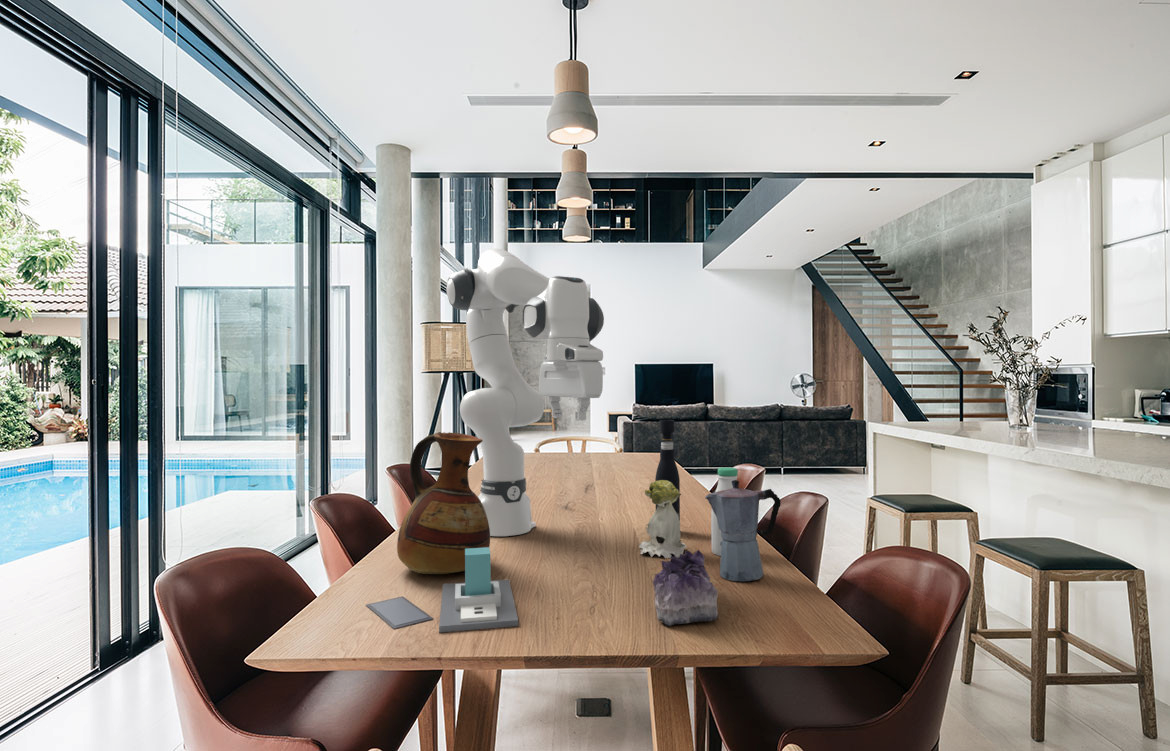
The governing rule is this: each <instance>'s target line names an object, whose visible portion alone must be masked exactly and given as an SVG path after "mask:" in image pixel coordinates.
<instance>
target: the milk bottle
mask: <svg viewBox="0 0 1170 751" xmlns="http://www.w3.org/2000/svg"><path fill="white" fill-rule="evenodd" d="M738 474H739V473H738V469H737V468H735V467H730V466H729V467H718V469H717V478H718V482H717V486H716V489H715V490H714V492H718V491H722V490H726V489H731V488H733V486H732V482H731V481H733V480H737V479H738ZM737 481H738V480H737ZM710 514H711V515H710V517H711V520H710V521H711V522H710V523H711V524H710V525H711V532H710V534H711V536H710V537H711V539H710V540H711V552H712V554H713V555H716V556H720V557H721V545H720V542H721V541H722V537H721V530H720V529H719V527H718V522H717V517H716V515H715V513H714V511H713V509H712V507H711V513H710Z"/></svg>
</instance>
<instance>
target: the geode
mask: <svg viewBox="0 0 1170 751" xmlns="http://www.w3.org/2000/svg"><path fill="white" fill-rule="evenodd" d="M660 562H661V568H662V570H660V571H659V572H658V573H655V575H654V578H653V580H652V584H653V589H654V593H655V597H654V606H655V611H656V620H657V621H659V622H662V623H663V624H664V625H665V626H667V627H670V626H674V625H683V624H690V623H701V622H713V621H717V620H718V619H719V613H718V604H717V603H718V602H717V599H718V592H719V591H718V589H717V588H716V587H715V585H714V584H713V582H711V578H710V575H709V573H708V571H707V570H706V569H705V556H704V554H703V553H702V551H700V549H697V550H696V551H695V552H694V553H692V552H691V551H690V550H686V551H685V553H683V554H680V556H679V557H675V555H673V556H671V557H670V560H667V561H666V560H661V561H660Z"/></svg>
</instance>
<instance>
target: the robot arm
mask: <svg viewBox="0 0 1170 751" xmlns="http://www.w3.org/2000/svg"><path fill="white" fill-rule="evenodd" d="M446 282H447V283H446V295H447V296H446V297H447V299H448V302H449V304H450V305H451V306H452V307H453V309H456V310H459V311H467V313H466V315H465V316H466V317H465V324H466V326H465V327H466V335H467V336H466V337H467V343H468V348H469V352H470V357H471V361H472V366H473V371H474V372H475V374H477V375H478V376H479V377H480V378H481V379H483V380H484V381H486V382H487V383H488V384H489V385H490V387H482V388H478V389H474V390H472V391H471V390H470V391H468V392H467V393H465V394H464V396H463V397H462V398H461V401H460V404H459V413H460V417H461V419H462V422H463V423H464V424H465V425H466V426H467V427H468V428H470V429H471V430H472V432H473V433H474V434H475V435H476V436H475V437H477V438H479V439H482V440H483V441H482V442H481V443H480V444H479V445H480V447H481V452H482V462H483V464H482V466H483V468H482V469H483V478H482V479H481V483H480V494H478V495H477V497H478V498H479V499H480V501H481V503H482V505H483V507H484V509H485V512H486V515H487V519H488V524H489V528H490V537H509V536H510V537H511V536H517V535H523V534H526V533H529V532H530V531H531V530H532V529H533V528H535V527H536V521H533V520H532V508H531V498H530V496H528V495H527V493H526V492H527V479H526V477H525V453H524V452H525V451H524V449H523V448H522V446H521V445H520V444H518V443H517V442H515V441H514V440H513V438H512V437H511V434H510V428H516V427H517V428H518V427H519V428H520V427H526V426H528V425H532V424H534V423H536V422H538V421H540V420H541V418H542V417H543V415H544V411H545V401H544V397H548V403H549V405H550V408H551V417H552V418H554V419H561V418H563V409H561V405H560V404H561V403H560V402H561V398H573V399H574V398H577V399H576V400H577V404H578V407H577V411H575V412H574V415H575V417H574V419H575V420H576V421H579V422H580V421H582V422H583V421H586V420H587V411H588V409H589V407H590V405H591V399H599V398H600V397H601V395H602V393H603V383H604V382H603V381H604V380H603V379H604V378H603V376H604V373H603V366H602V363H601V361H603V359H604V351H603V350H602V349H600V348H598V347H596V346H594V345H593V344H590V342H591V341H593V340H594V339H595V338H596V337H597V336H598V335H599V334H600V332H601V331H602V329H603V327H604V322H605V317H604V316H605V315H604V312H603V310H602V308H601V306H600V304H599V303H598V302H597V301H596V300H595V299H594V298H593V297H589V293H588V287H587V283H586V281H585V280H584V279H582V278H579V277H574V276H573V277H571V276H563V275H561V276H560V275H559V276H558V275H555V276H552V277H551V278H549V277H547V276H545V274H542V273H540V272H539V271H537V270H536V269H534V268H532V267H531V266H529V265H528V264H526V263H525V262H524V261H522V260H521V259H520V258H519V257H517V256H516V255H514V254H513V253H511V252H509V251H507V250H504V249H502V248H495V247H494V248H490V249H487V250H486V251H484V252H483V253H482V254H481V255H480V256H479V259H478V262H477V268H472V269H470V268H469V269H468V267H465V268H463V269H461V270H459V271H456V272H453V273H451V275H450V276H448V279H447V281H446ZM519 306H523V309H522V324H523V325H522V326H523V328H524V330H525V331H526V333H527V334H528V335H529V336H530V337H532V338H534V339H539V340H546V342H547V344H546V345H547V347H546V348H547V349H546V350H547V351H546V352H547V353H546V355H545V357H544V359H543V361H542V363H541V365H540V368H539V377H538V378H539V379H538V380H539V381H538V390H537V389H534V387H532V386H531V385H530V383H528V382H527V381H526V379H525V378H524V376H523V375H522V374H521V372H520V370H519V368H518V367H517V365H516V362H515V360H514V357H513V352H512V349H511V345H510V341H509V337H508V334H507V333H508V332H507V330H506V327H505V322H504V318H503V317H504V314H505V313H504V312H505V311H507V312H508V313H509V314H512V313H513V312H514V310H515V309H516V308H517V307H519Z"/></svg>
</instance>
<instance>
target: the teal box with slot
mask: <svg viewBox="0 0 1170 751" xmlns="http://www.w3.org/2000/svg"><path fill="white" fill-rule="evenodd" d="M491 570H492V569H491V549H490V546H489V547H485V548H468V549H465V571H464V582H465V596H471V595H485V594H491V581H492V579H491V578H492V577H491V572H492V571H491Z"/></svg>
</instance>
